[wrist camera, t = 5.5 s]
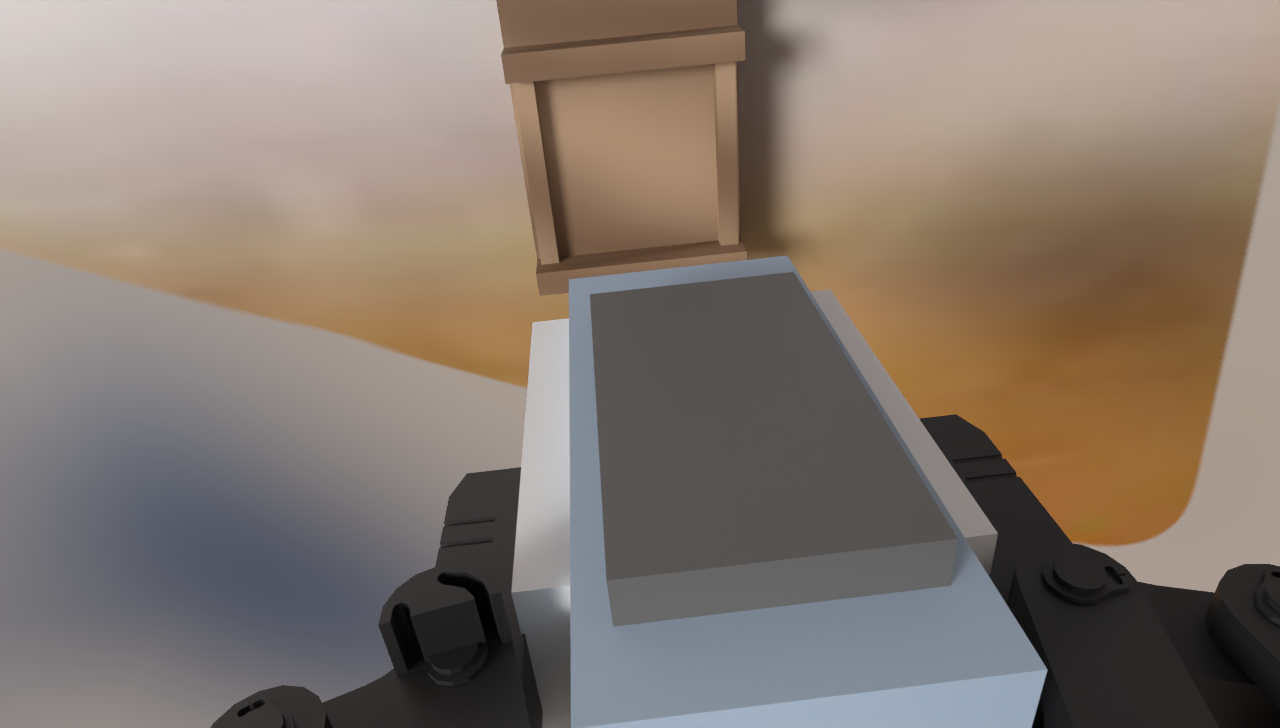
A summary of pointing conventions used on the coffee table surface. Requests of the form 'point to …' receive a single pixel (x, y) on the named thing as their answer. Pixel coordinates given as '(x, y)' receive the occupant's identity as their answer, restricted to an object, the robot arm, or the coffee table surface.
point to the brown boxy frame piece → (626, 132)
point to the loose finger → (762, 525)
